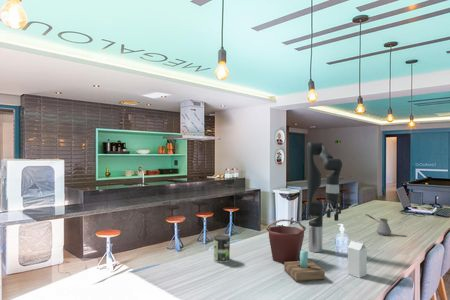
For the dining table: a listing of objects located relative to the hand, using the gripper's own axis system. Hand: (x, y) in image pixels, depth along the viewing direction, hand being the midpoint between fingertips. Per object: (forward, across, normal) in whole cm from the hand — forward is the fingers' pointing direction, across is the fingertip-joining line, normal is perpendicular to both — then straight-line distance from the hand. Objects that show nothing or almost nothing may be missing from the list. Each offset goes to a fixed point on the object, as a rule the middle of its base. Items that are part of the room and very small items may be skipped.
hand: (332, 219), depth 184 cm
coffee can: (+28, -22, -63) cm, 72 cm away
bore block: (+28, +10, -23) cm, 38 cm away
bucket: (+28, -16, -23) cm, 40 cm away
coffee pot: (+28, -65, +81) cm, 108 cm away
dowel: (+27, +10, -23) cm, 37 cm away
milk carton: (+28, +14, +7) cm, 32 cm away
